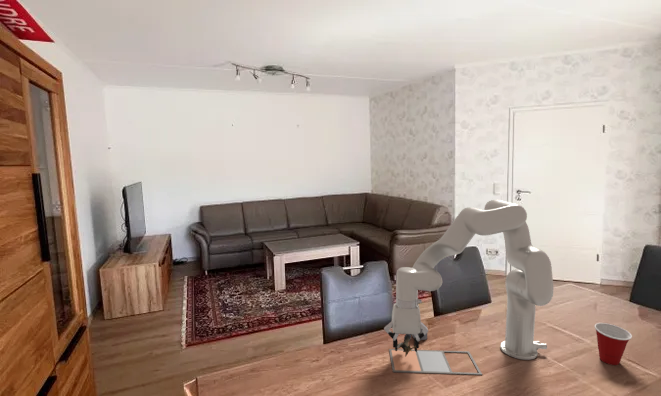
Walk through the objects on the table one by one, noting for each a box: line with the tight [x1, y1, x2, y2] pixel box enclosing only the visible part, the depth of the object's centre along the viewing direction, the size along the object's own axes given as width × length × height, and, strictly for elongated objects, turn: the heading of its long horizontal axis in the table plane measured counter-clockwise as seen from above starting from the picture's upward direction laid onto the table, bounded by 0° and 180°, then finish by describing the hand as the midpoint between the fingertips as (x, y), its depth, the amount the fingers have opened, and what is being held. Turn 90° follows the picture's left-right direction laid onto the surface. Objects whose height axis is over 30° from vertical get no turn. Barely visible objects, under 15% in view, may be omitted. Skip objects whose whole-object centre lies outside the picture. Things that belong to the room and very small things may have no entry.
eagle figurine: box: [397, 334, 416, 357], centre depth 134 cm, size 8×7×9 cm
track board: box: [388, 348, 483, 376], centre depth 133 cm, size 30×15×1 cm, turn 86°
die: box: [411, 321, 428, 341], centre depth 151 cm, size 5×5×5 cm
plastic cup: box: [594, 322, 633, 366], centre depth 132 cm, size 11×11×12 cm
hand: (405, 349), depth 133 cm, fingers closed on eagle figurine, 6 cm apart
